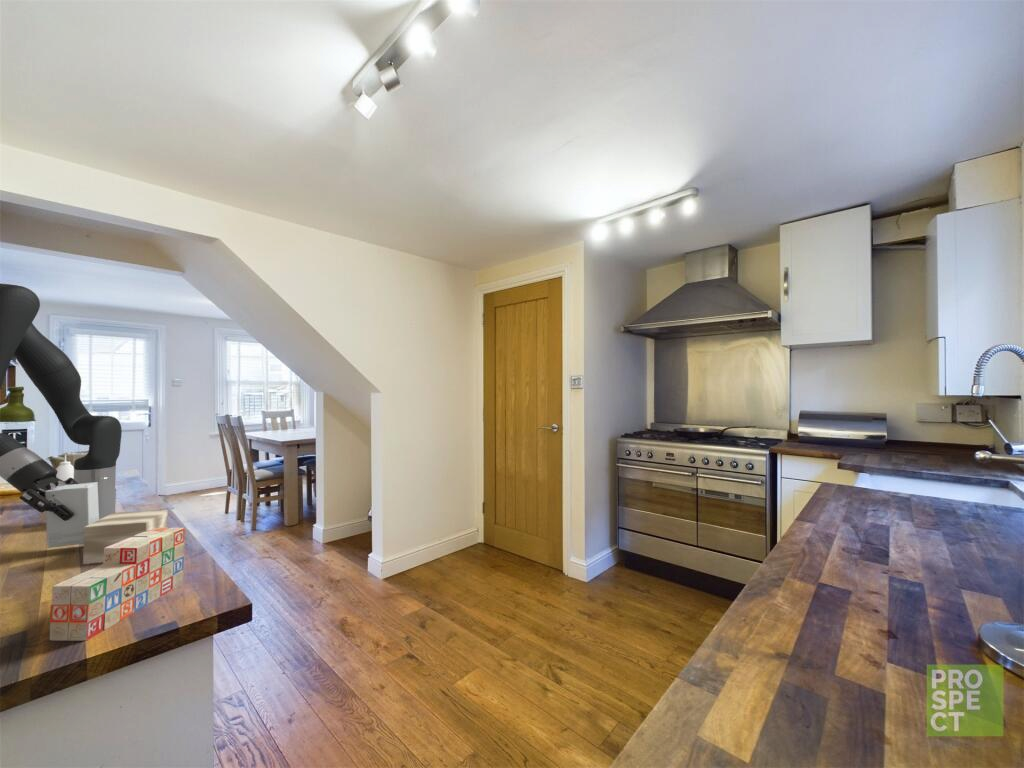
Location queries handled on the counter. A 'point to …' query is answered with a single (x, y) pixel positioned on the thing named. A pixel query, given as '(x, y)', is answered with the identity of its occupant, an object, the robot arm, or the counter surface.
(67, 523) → the skincare box
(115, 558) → the stack of blocks
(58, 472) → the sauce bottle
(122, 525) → the riser block
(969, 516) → the counter surface
